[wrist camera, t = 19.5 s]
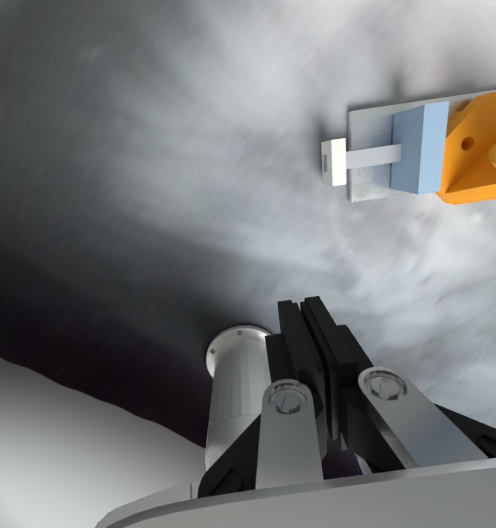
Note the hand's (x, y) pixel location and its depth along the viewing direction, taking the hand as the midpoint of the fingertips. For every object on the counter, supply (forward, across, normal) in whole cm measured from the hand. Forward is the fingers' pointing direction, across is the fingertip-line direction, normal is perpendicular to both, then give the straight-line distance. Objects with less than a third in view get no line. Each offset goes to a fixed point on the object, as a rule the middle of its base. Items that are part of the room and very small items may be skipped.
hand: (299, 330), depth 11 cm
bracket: (+28, -27, -4) cm, 39 cm away
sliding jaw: (+28, -15, -5) cm, 32 cm away
